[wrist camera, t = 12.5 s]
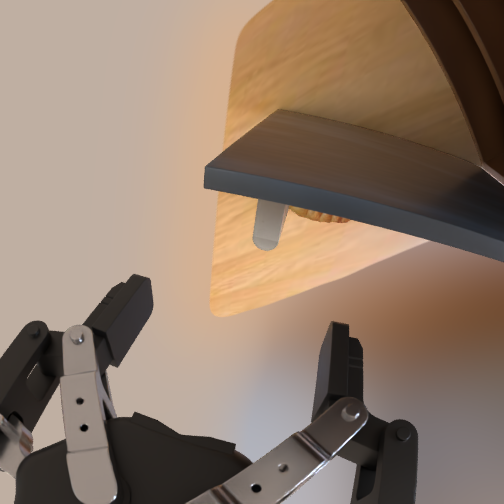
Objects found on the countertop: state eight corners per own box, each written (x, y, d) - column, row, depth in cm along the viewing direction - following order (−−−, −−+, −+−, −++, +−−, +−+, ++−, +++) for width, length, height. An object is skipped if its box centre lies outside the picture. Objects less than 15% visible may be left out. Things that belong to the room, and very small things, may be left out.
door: (462, 215, 36) (542, 350, 16) (269, 164, 39) (198, 281, 19) (479, 166, 32) (591, 276, 12) (277, 109, 35) (204, 166, 15)
